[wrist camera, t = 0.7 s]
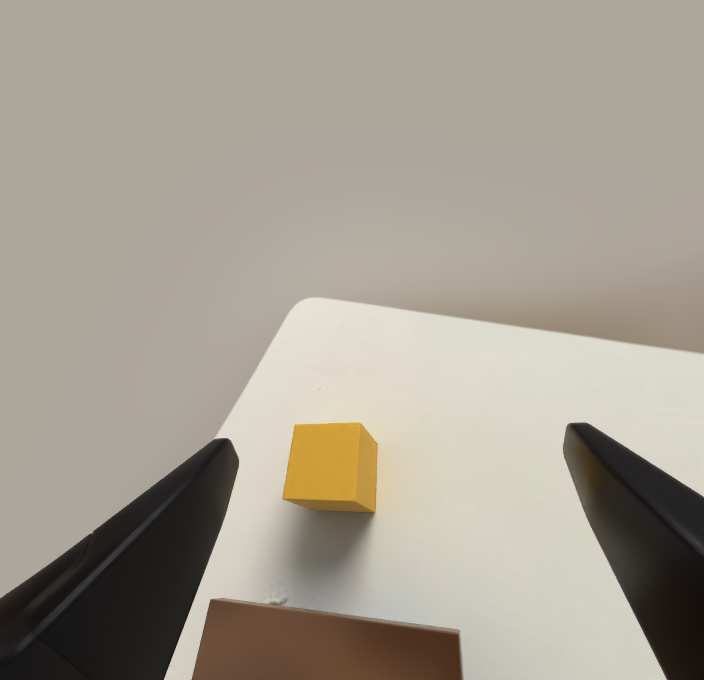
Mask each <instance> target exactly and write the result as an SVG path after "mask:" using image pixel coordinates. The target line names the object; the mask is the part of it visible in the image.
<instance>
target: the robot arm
mask: <svg viewBox="0 0 704 680" xmlns="http://www.w3.org/2000/svg"><path fill="white" fill-rule="evenodd" d="M563 454H564V458H565V460H566V463H567V466H568V469H569V471H570V474H571V477H572V479H573V482H574V485H575V488H576V490H577V493H578V496H579V498H580V501H581V504H582V507H583V509H584V512H585V514H586V517H587V519H588V521H589V523H590V526H591V528H592V530H593V532H594V534H595V536H596V538H597V540H598V542H599V544H600V546H601V548H602V550H603V552H604V554H605V556H606V558H607V560H608V562H609V564H610V566H611V568H612V570H613V572H614V574H615V576H616V578H617V580H618V582H619V584H620V586H621V588H622V590H623V592H624V594H625V596H626V598H627V600H628V602H629V604H630V606H631V608H632V610H633V612H634V614H635V616H636V618H637V620H638V622H639V624H640V626H641V628H642V630H643V632H644V634H645V636H646V638H647V640H648V642H649V644H650V646H651V648H652V650H653V652H654V654H655V656H656V658H657V660H658V663H659V665H660V667H661V669H662V671H663V673H664V675H665V677H666V679H667V680H704V497H703V496H701V495H700V494H698V493H697V492H695V491H694V490H692V489H691V488H689V487H687V486H686V485H684V484H683V483H681V482H680V481H678V480H676V479H675V478H673V477H672V476H670V475H669V474H667V473H665V472H664V471H662V470H661V469H659V468H658V467H656V466H654V465H653V464H651V463H650V462H648V461H647V460H645V459H643V458H642V457H640V456H639V455H637V454H636V453H634V452H632V451H631V450H629V449H628V448H626V447H625V446H623V445H622V444H620V443H618V442H617V441H615V440H614V439H612V438H611V437H609V436H607V435H606V434H604V433H603V432H601V431H600V430H598V429H596V428H595V427H593V426H592V425H590V424H588V423H570V424H568V425H567V427H566V432H565V438H564V444H563ZM238 467H239V458H238V456H237V453H236V451H235V449H234V447H233V444H232V442H231V440H229V439H227V438H221V439H214V440H213V441H211V442H210V443H209V444H207V445H206V446H205V447H204V448H202V449H201V450H200V451H198V452H197V453H196V454H194V455H193V456H192V457H190V458H189V459H188V460H186V461H185V462H184V463H183V464H181V465H180V466H179V467H178V468H176V469H175V470H173V471H172V472H171V473H169V474H168V475H167V476H165V477H164V478H163V479H161V480H160V481H159V482H158V483H156V484H155V485H154V486H152V487H151V488H150V489H148V490H147V491H146V492H144V493H143V494H142V495H140V496H139V497H138V498H136V499H135V500H134V501H133V502H131V503H130V504H129V505H127V506H126V507H125V508H123V509H122V510H121V511H119V512H118V513H117V514H115V515H114V516H113V517H111V518H110V519H109V520H108V521H106V522H105V523H104V524H102V525H101V526H100V527H98V528H97V529H96V530H94V531H93V533H92V534H89V535H88V536H86V537H85V538H84V539H83V540H81V541H80V542H79V543H77V544H76V545H75V546H73V547H72V548H71V549H69V550H68V551H67V552H65V553H64V554H63V555H61V556H60V557H58V558H57V559H56V560H54V561H53V562H52V563H50V564H49V565H48V566H46V567H45V568H43V569H42V570H41V571H39V572H38V573H36V574H35V575H34V576H32V577H31V578H29V579H28V580H26V581H25V582H23V583H22V584H20V585H19V586H18V587H16V588H15V589H13V590H12V591H10V592H9V593H7V594H6V595H4V596H3V597H2V598H0V680H164V677H165V675H166V672H167V669H168V667H169V664H170V662H171V659H172V656H173V654H174V651H175V648H176V646H177V643H178V640H179V638H180V635H181V632H182V630H183V627H184V624H185V622H186V619H187V617H188V614H189V611H190V609H191V606H192V603H193V601H194V598H195V595H196V593H197V590H198V587H199V585H200V582H201V579H202V577H203V574H204V572H205V569H206V566H207V564H208V561H209V558H210V556H211V553H212V550H213V548H214V545H215V542H216V540H217V537H218V534H219V532H220V529H221V526H222V524H223V521H224V518H225V515H226V511H227V508H228V504H229V501H230V497H231V493H232V489H233V486H234V482H235V478H236V475H237V471H238Z"/></svg>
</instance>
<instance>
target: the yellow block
mask: <svg viewBox="0 0 704 680" xmlns="http://www.w3.org/2000/svg"><path fill="white" fill-rule="evenodd" d="M377 445H378V444H377V442H376V441H375V440H374V439H373V438H372V436H371V435H370V434H369V433H368V431H367V430H366V429H365V428H364V426H363V425H362V424H361V423H360V422H358V423H329V424H300V425H295V426H294V433H293V439H292V445H291V451H290V457H289V463H288V469H287V475H286V481H285V487H284V493H283V499H284V500H286V501H289V502H292V503H295V504H297V505H300V506H303V507H306V508H308V509H311V510H325V511H348V512H371V513H374V512H375V508H376V476H377Z"/></svg>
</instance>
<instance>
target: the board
mask: <svg viewBox="0 0 704 680" xmlns="http://www.w3.org/2000/svg"><path fill="white" fill-rule="evenodd" d="M192 680H464V679H463V666H462V652H461V639H460V631H459V630H457V629H450V628H442V627H435V626H427V625H420V624H412V623H405V622H397V621H390V620H383V619H375V618H368V617H360V616H353V615H345V614H338V613H330V612H323V611H315V610H308V609H300V608H293V607H285V606H278V605H271V604H263V603H256V602H248V601H241V600H233V599H226V598H219V599H211V600H210V604H209V608H208V612H207V617H206V621H205V625H204V630H203V634H202V638H201V642H200V647H199V651H198V655H197V659H196V664H195V668H194V672H193V677H192Z"/></svg>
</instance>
